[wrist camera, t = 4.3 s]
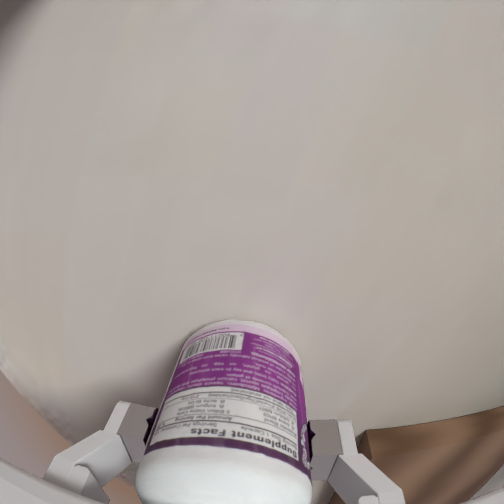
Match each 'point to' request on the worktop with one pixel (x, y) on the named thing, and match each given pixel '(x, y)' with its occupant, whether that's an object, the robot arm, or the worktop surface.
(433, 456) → the walnut board
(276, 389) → the pill bottle
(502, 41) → the worktop surface
